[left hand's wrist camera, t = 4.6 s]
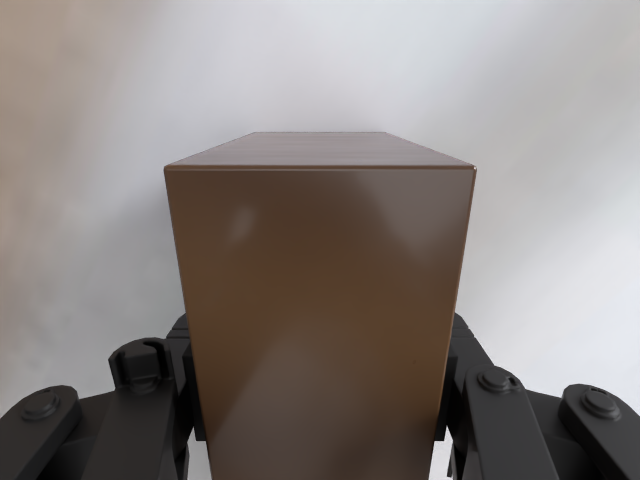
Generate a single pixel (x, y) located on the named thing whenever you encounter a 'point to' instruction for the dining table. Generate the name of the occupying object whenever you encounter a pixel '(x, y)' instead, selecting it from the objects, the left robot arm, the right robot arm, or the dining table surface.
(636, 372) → the dining table surface
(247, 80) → the dining table surface
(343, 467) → the bar
